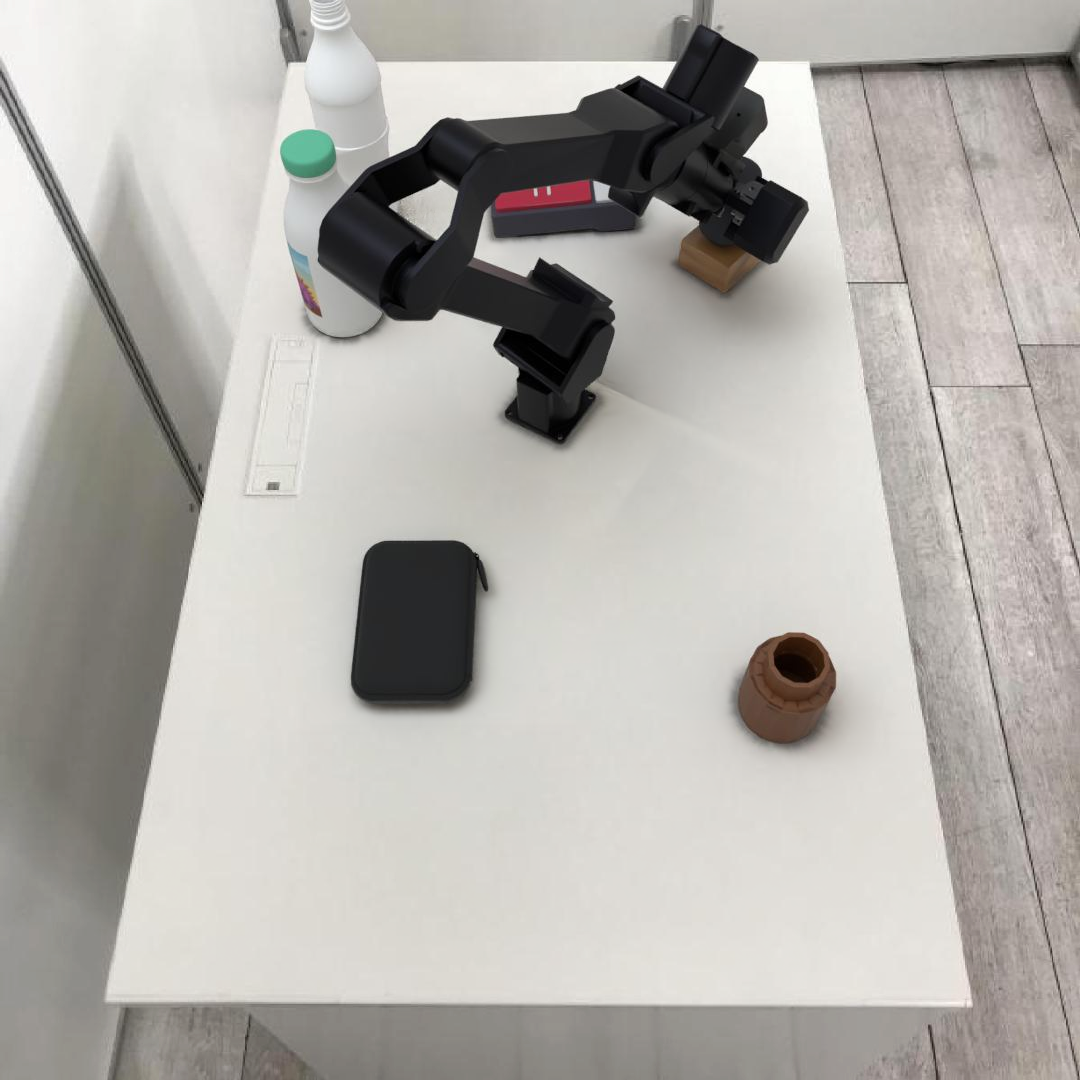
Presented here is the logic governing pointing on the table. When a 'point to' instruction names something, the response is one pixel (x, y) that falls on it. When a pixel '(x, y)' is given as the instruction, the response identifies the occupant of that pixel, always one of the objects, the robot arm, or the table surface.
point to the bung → (728, 208)
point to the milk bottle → (304, 210)
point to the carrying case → (416, 622)
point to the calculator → (559, 210)
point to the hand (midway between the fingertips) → (736, 203)
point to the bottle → (786, 687)
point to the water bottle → (346, 91)
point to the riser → (714, 261)
